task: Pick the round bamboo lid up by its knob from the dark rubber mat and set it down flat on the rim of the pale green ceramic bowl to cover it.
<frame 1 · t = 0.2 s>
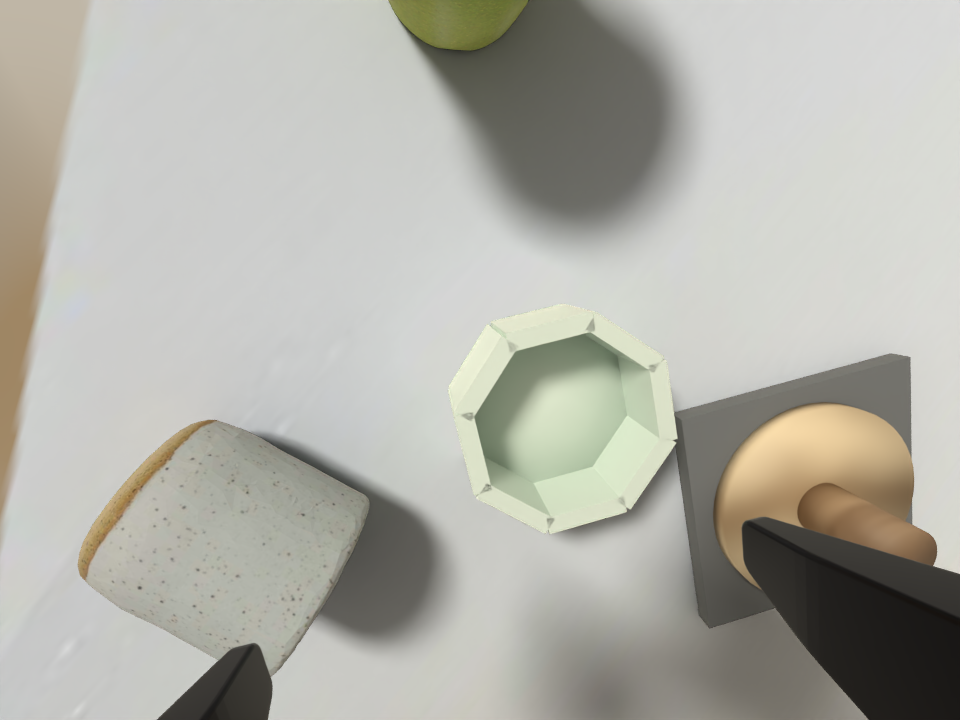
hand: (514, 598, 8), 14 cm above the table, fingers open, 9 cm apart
bowl: (544, 400, 23), on the table
mat: (791, 489, 26), on the table
ceramic mug: (260, 514, 22), on the table
lid: (805, 497, 25), point 1 cm above the table, touching mat
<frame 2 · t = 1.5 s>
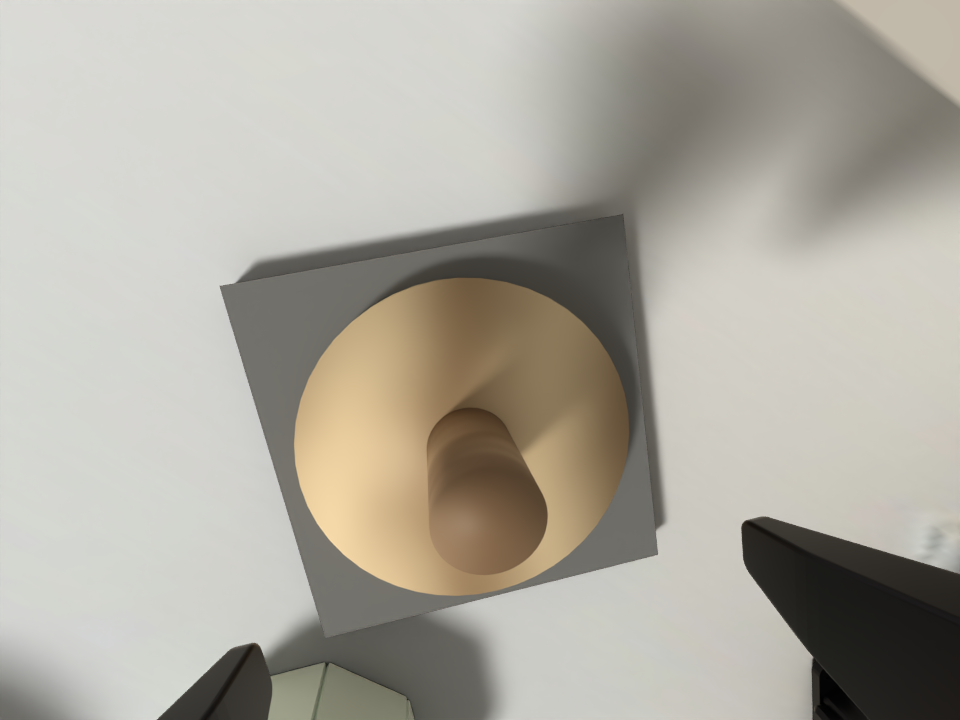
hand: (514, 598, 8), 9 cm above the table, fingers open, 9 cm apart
mat: (463, 427, 17), on the table
lid: (466, 437, 16), point 1 cm above the table, touching mat
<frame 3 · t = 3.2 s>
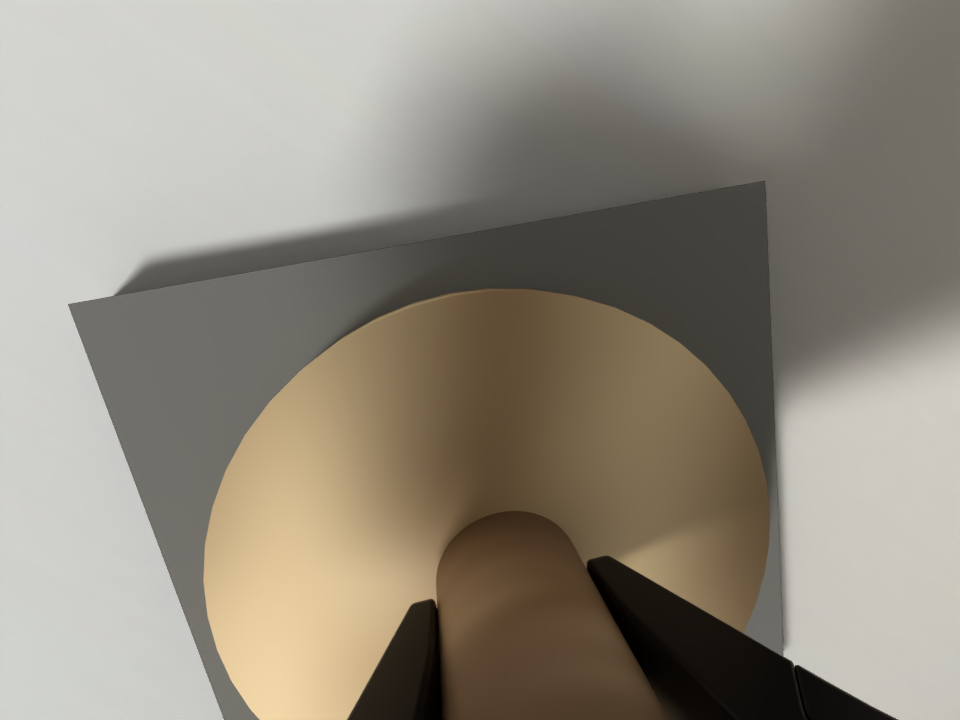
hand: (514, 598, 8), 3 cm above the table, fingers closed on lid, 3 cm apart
mat: (492, 520, 11), on the table
lid: (499, 546, 10), point 1 cm above the table, touching gripper, mat
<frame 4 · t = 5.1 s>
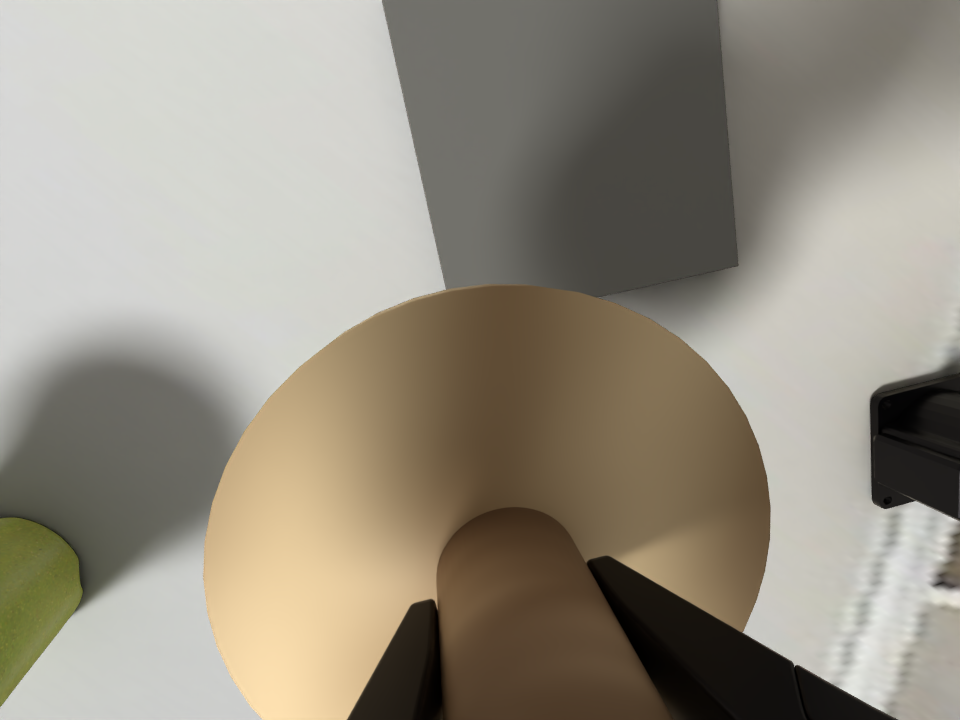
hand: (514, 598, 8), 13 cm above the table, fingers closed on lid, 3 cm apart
plant pot: (16, 571, 20), on the table
mat: (569, 145, 19), on the table
lid: (500, 542, 10), point 11 cm above the table, touching gripper
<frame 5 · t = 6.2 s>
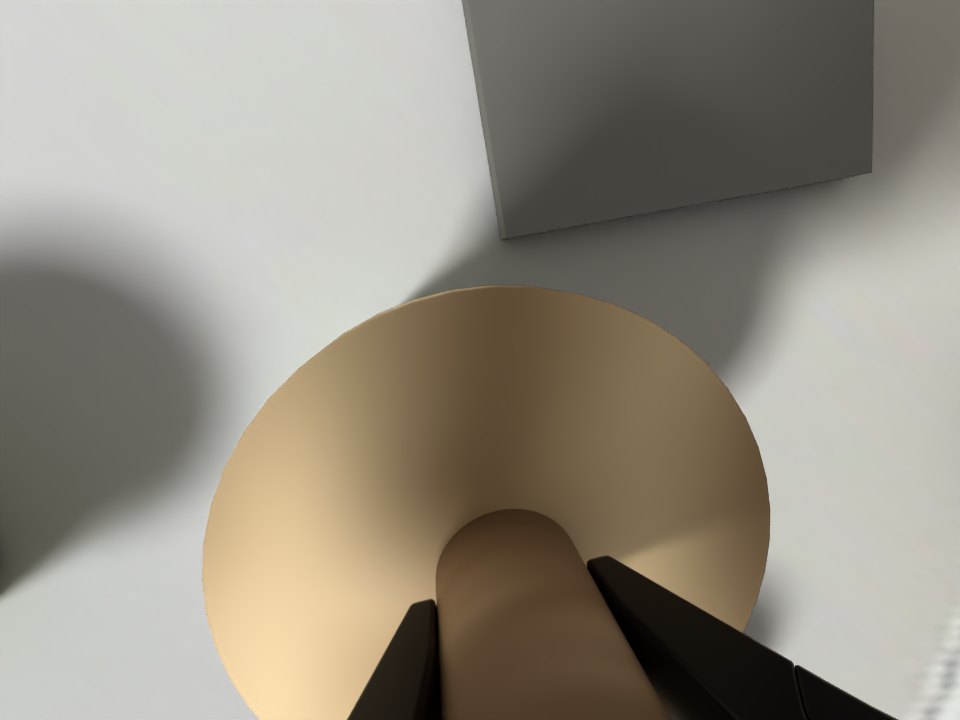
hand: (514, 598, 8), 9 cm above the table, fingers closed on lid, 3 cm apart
lid: (499, 544, 10), point 7 cm above the table, touching gripper
when the fingers open (6 cm above the table, at t = 7.2 s): lid stays where it is, resting on bowl.
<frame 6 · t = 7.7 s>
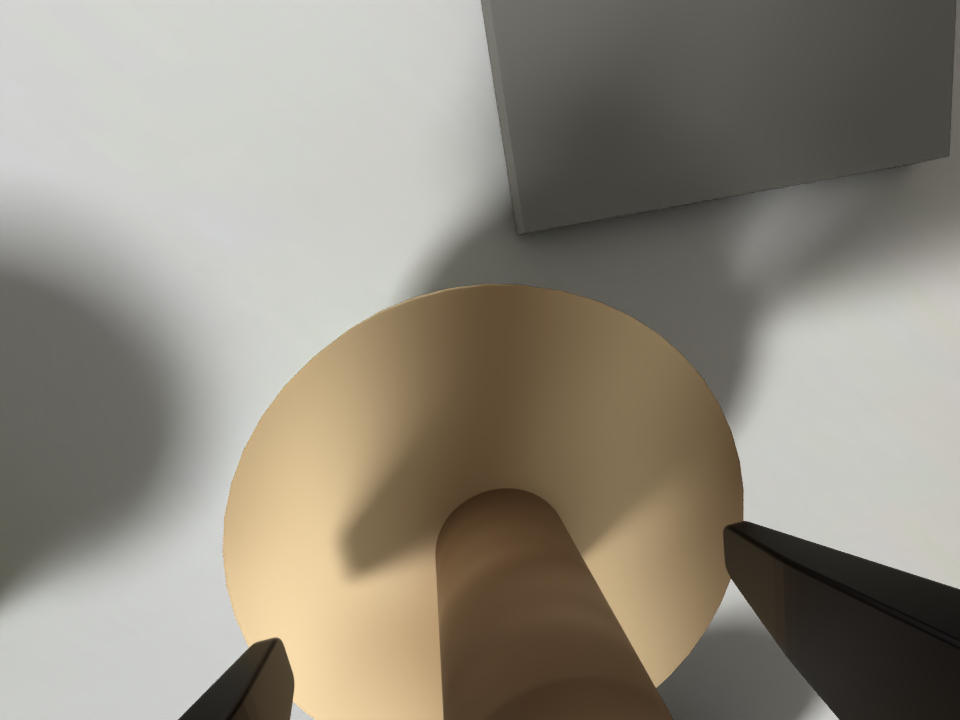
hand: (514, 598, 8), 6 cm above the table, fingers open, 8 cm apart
lid: (494, 523, 10), point 4 cm above the table, touching bowl
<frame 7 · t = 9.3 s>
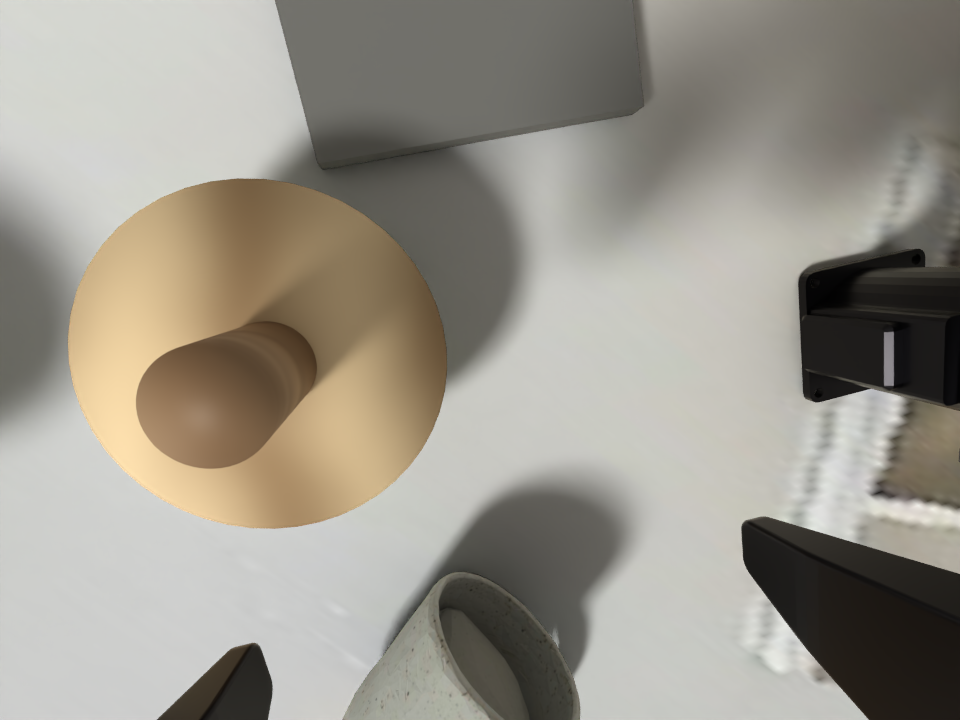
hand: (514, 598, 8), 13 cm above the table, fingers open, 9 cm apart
ceramic mug: (470, 644, 23), on the table
lid: (278, 360, 15), point 4 cm above the table, touching bowl
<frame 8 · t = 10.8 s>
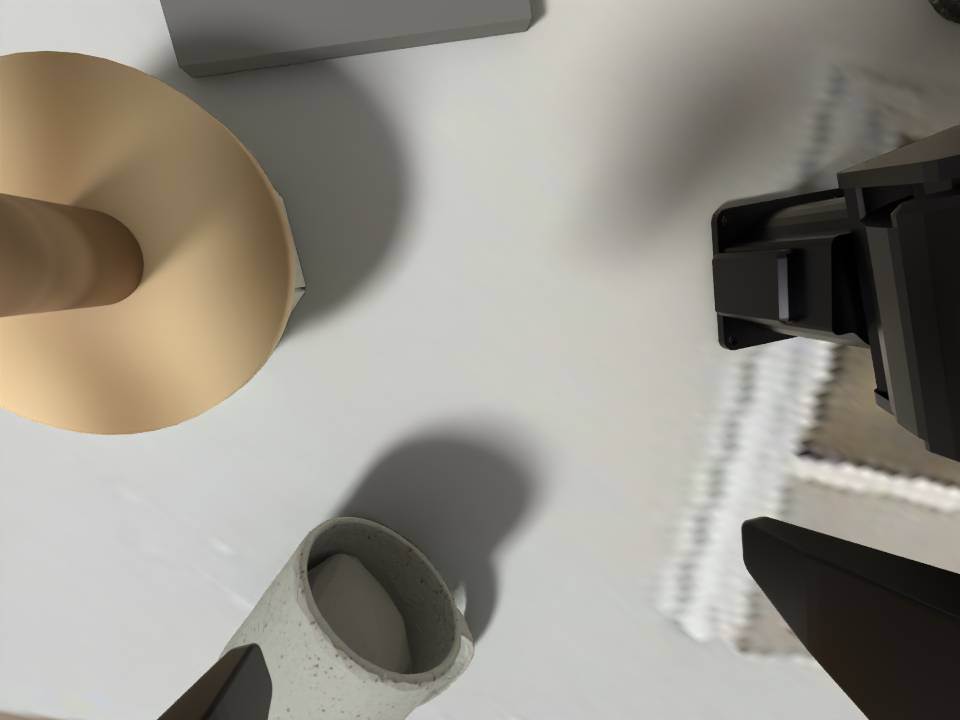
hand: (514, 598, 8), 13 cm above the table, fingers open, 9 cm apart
bowl: (179, 262, 18), on the table
ceramic mug: (373, 596, 23), on the table
lid: (114, 259, 14), point 4 cm above the table, touching bowl
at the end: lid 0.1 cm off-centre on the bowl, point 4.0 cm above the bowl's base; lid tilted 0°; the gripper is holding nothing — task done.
